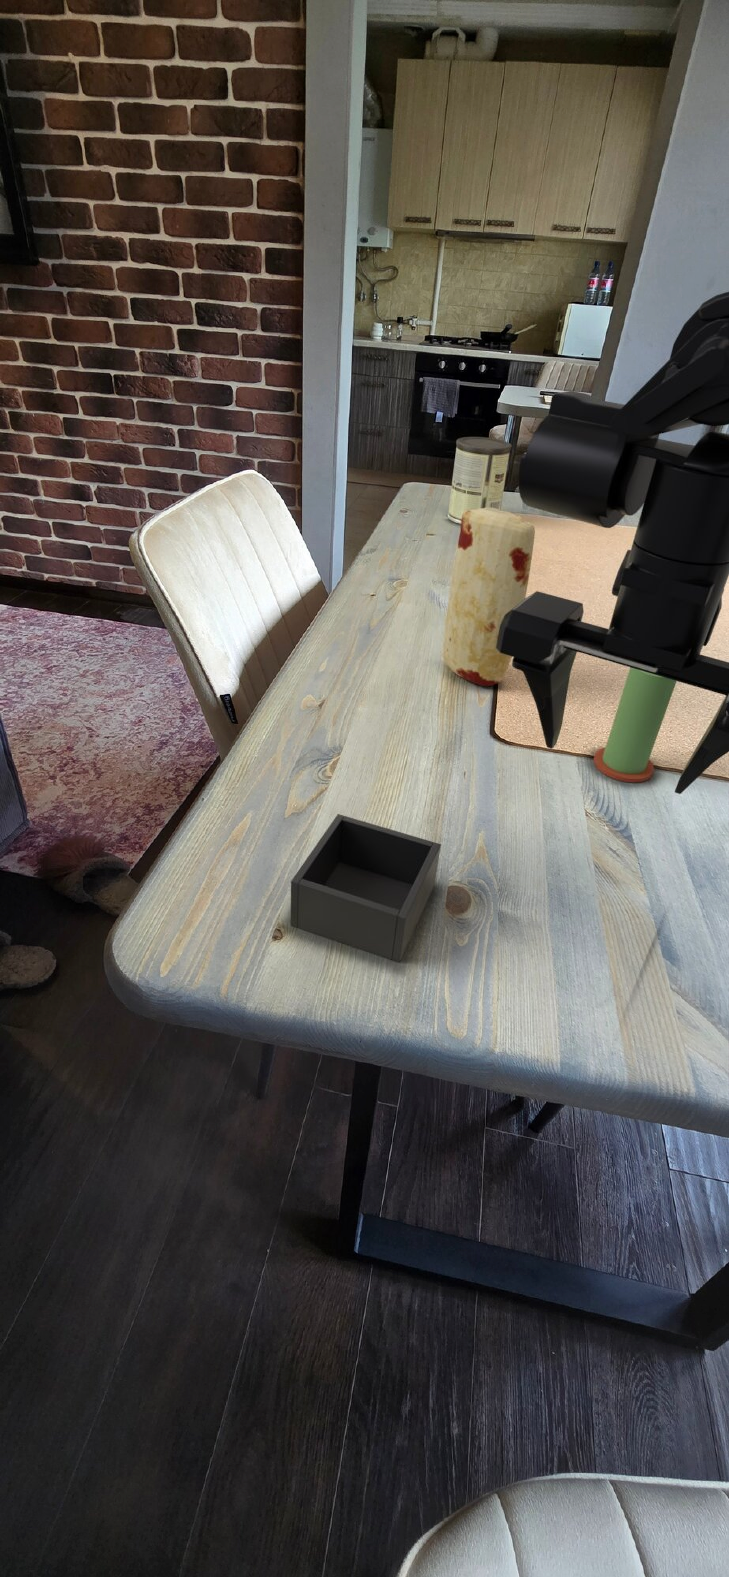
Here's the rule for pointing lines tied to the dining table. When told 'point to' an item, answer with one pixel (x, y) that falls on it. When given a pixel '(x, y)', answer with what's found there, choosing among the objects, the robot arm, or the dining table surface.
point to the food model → (485, 591)
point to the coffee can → (478, 475)
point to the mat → (618, 775)
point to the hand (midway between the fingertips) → (612, 767)
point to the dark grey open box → (365, 886)
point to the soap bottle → (637, 721)
